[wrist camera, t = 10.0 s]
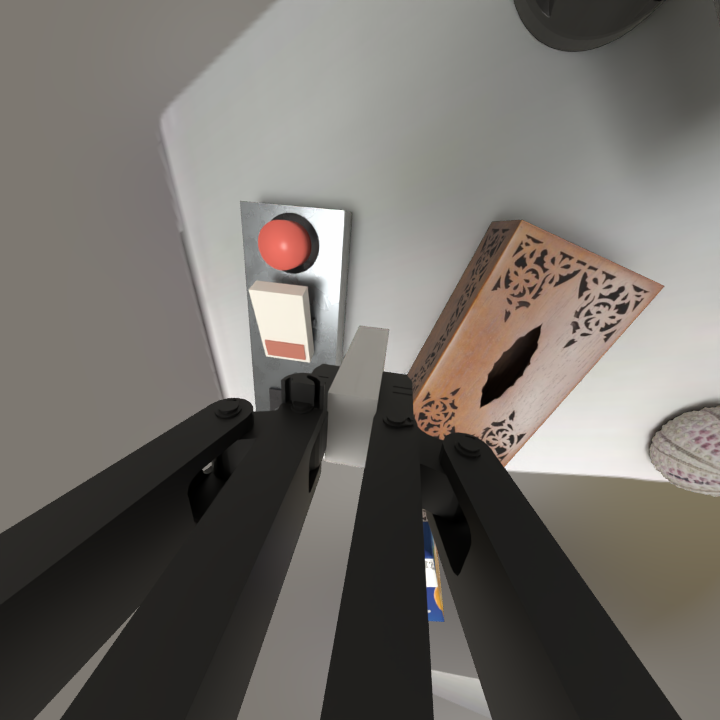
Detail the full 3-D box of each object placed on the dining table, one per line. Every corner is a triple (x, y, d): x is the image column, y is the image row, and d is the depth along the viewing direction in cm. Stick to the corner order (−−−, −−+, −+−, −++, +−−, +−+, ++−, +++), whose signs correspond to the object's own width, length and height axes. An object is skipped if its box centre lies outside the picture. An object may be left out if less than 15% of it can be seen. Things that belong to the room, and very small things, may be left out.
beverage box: (421, 418, 47) (432, 556, 27) (429, 469, 51) (444, 622, 32) (379, 422, 49) (362, 556, 29) (390, 472, 53) (382, 618, 33)
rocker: (256, 280, 33) (247, 290, 31) (307, 286, 32) (301, 297, 31) (271, 346, 40) (265, 357, 38) (314, 352, 39) (309, 363, 38)
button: (268, 218, 33) (256, 217, 30) (311, 222, 32) (303, 222, 30) (270, 264, 35) (259, 267, 32) (311, 269, 34) (303, 272, 32)
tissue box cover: (481, 425, 46) (499, 472, 37) (398, 389, 46) (397, 428, 37) (598, 271, 35) (664, 286, 26) (491, 221, 35) (522, 219, 26)
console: (259, 204, 37) (234, 199, 32) (351, 212, 36) (342, 210, 31) (270, 410, 51) (253, 433, 45) (337, 421, 50) (329, 446, 44)
